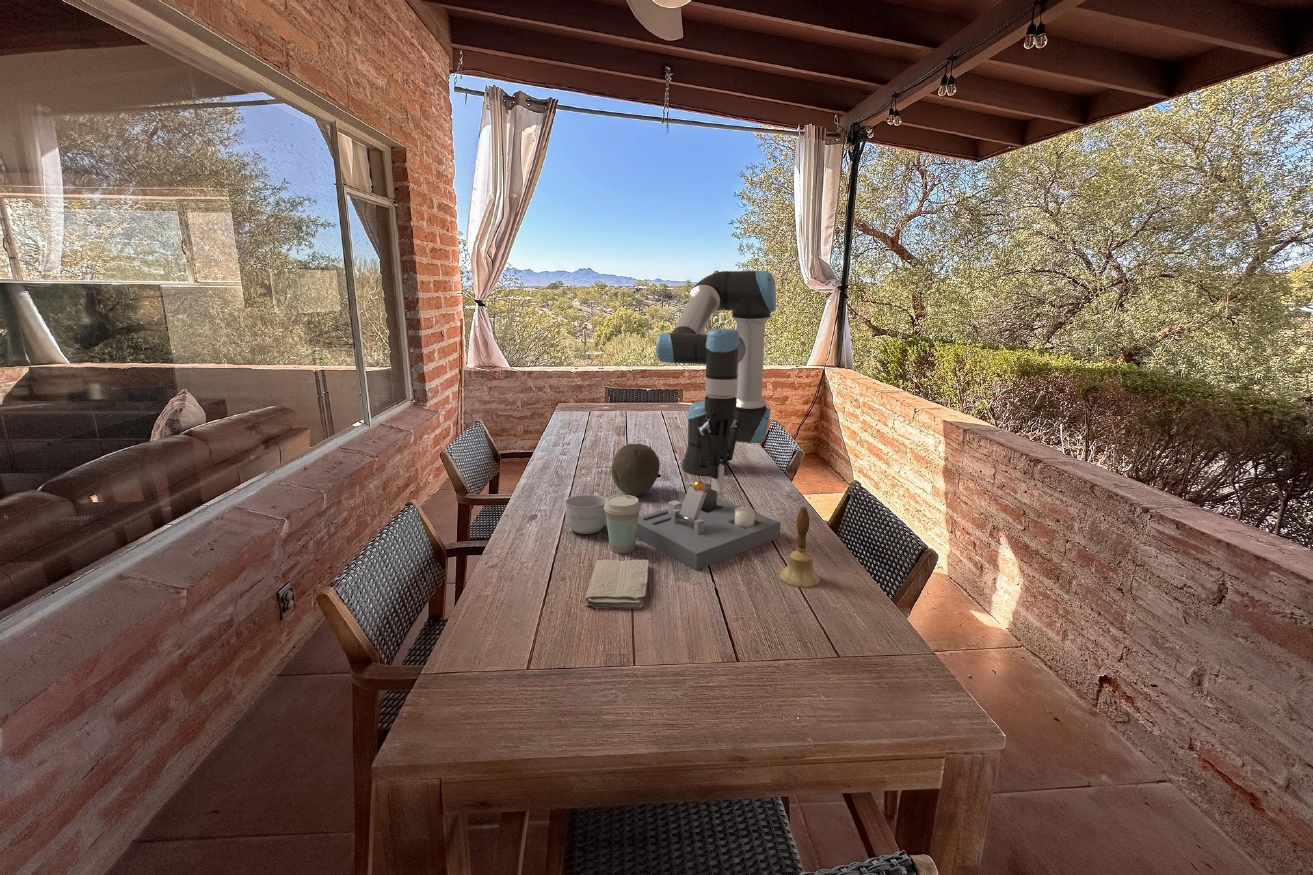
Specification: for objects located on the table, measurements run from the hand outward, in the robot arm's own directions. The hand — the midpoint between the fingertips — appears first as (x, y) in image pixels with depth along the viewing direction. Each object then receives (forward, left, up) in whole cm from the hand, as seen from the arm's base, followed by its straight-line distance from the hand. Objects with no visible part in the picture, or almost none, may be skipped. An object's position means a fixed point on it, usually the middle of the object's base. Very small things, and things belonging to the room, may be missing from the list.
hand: (717, 489), depth 143 cm
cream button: (-3, +6, -10) cm, 12 cm away
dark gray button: (-3, -7, -7) cm, 10 cm away
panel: (+4, 0, -11) cm, 12 cm away
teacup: (+24, -20, -12) cm, 33 cm away
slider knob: (+7, -8, -7) cm, 13 cm away
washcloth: (+35, +7, -12) cm, 37 cm away
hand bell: (+3, +28, -12) cm, 30 cm away
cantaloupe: (-1, -35, -12) cm, 37 cm away
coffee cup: (+24, -7, -12) cm, 27 cm away
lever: (+10, 0, -5) cm, 11 cm away
